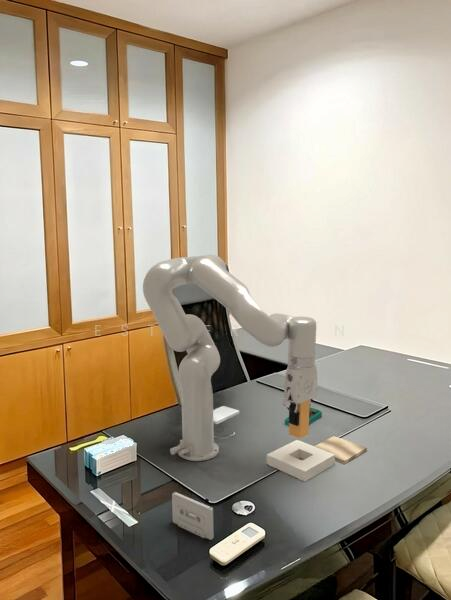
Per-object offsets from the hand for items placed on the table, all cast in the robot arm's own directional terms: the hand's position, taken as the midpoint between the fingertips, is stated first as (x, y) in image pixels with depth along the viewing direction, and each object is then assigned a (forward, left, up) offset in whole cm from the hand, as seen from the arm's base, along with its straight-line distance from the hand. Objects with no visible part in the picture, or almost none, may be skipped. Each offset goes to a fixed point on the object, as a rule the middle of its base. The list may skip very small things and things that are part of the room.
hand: (298, 421), depth 152 cm
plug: (0, 0, -4) cm, 4 cm away
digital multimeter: (+26, +18, -14) cm, 35 cm away
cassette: (-43, -3, -13) cm, 45 cm away
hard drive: (+8, +42, -14) cm, 45 cm away
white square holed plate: (0, -1, -13) cm, 13 cm away
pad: (+15, -4, -13) cm, 20 cm away
